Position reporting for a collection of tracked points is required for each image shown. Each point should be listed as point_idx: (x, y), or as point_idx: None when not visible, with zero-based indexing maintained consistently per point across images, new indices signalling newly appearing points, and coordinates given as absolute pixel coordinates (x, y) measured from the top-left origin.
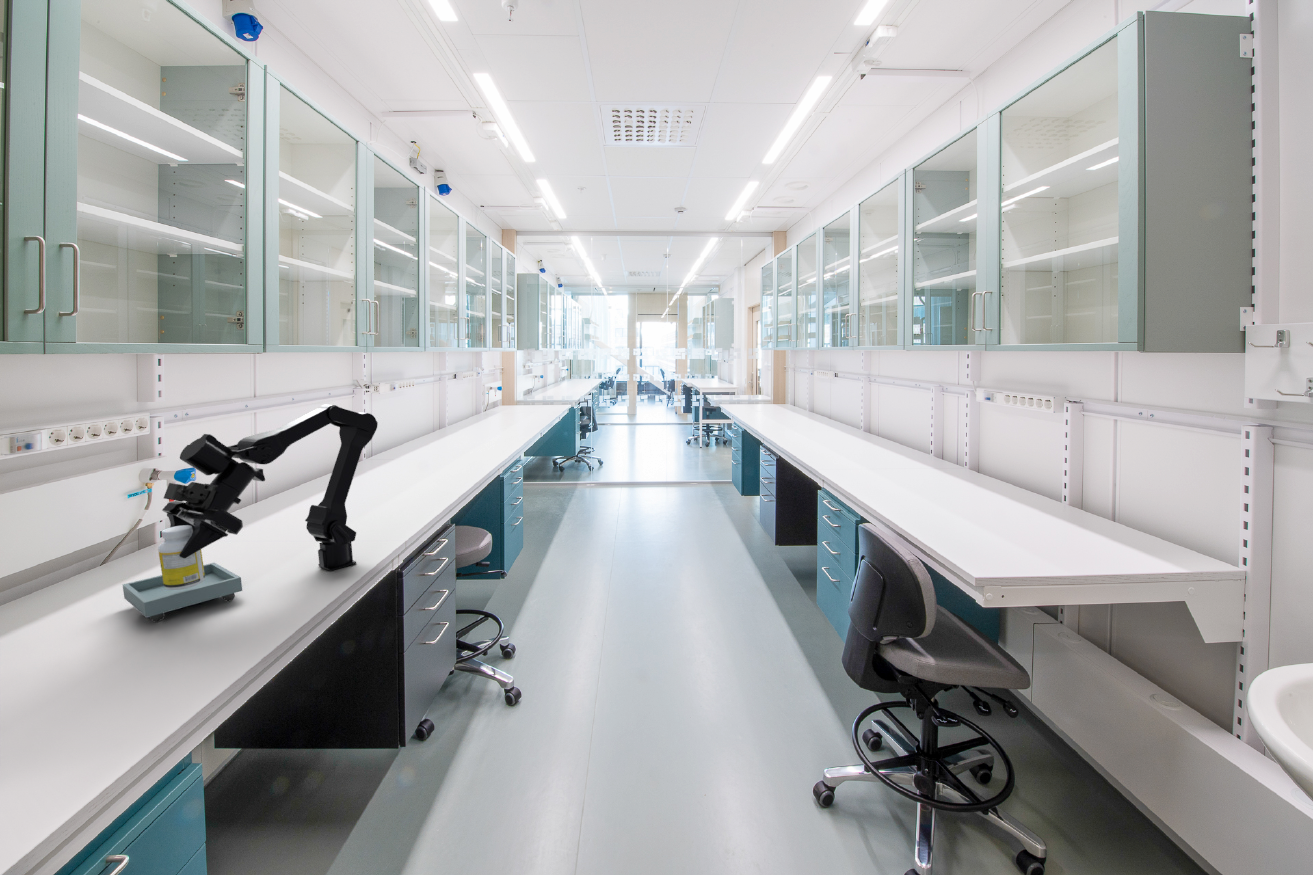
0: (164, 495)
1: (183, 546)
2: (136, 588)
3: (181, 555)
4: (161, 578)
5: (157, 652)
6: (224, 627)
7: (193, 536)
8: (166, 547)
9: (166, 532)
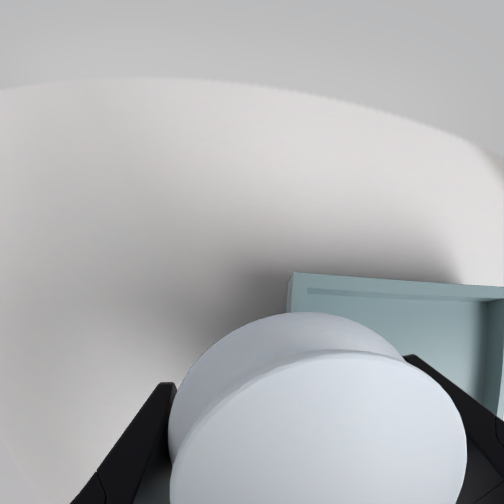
0: None
1: (172, 430)
2: (492, 316)
3: (159, 389)
4: (496, 375)
5: (101, 244)
6: (103, 384)
7: (93, 499)
8: (236, 340)
9: (258, 373)
